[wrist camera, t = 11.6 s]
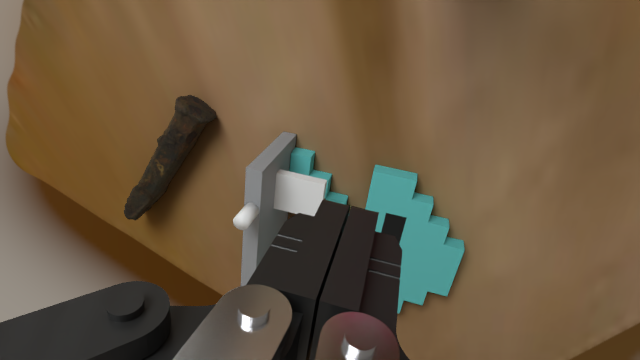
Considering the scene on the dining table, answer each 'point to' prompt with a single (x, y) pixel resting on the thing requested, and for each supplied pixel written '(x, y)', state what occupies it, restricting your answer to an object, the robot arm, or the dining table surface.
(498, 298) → the dining table surface
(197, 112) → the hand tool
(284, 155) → the cabinet side
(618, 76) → the dining table surface
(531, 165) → the dining table surface
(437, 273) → the alien figure
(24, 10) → the dining table surface
